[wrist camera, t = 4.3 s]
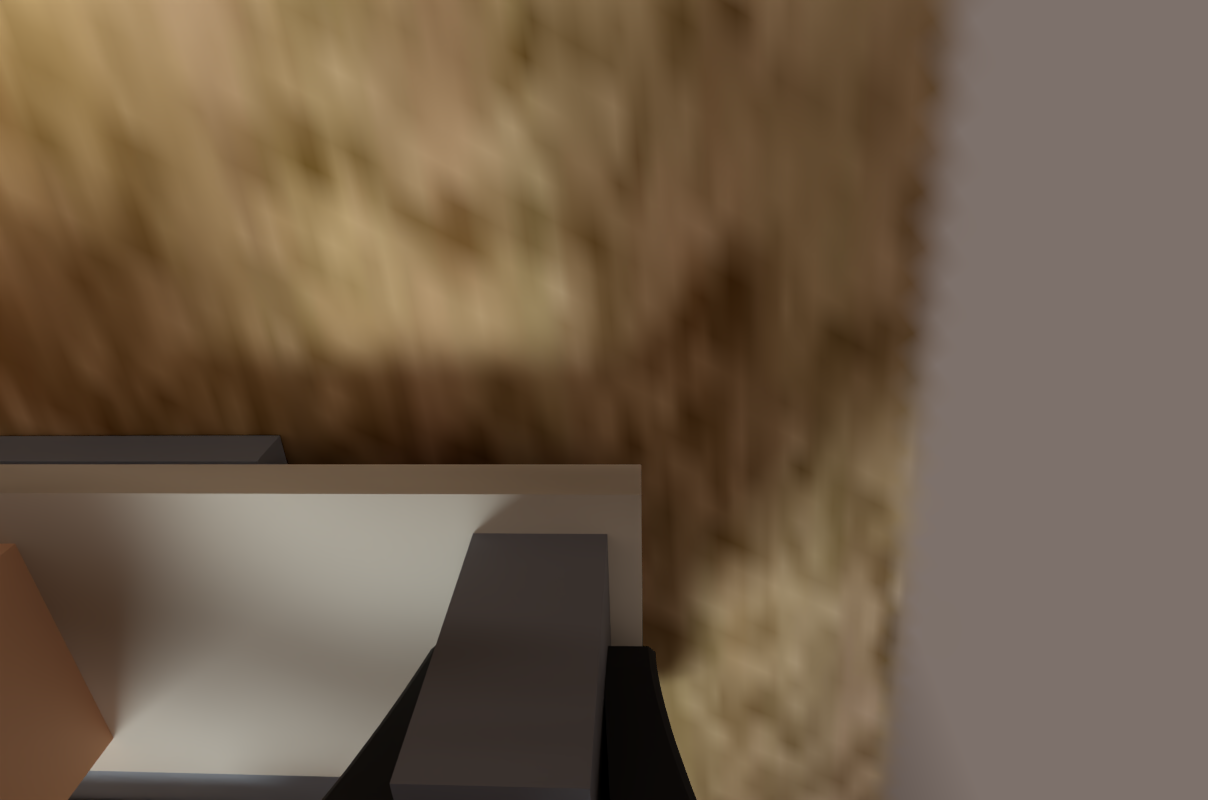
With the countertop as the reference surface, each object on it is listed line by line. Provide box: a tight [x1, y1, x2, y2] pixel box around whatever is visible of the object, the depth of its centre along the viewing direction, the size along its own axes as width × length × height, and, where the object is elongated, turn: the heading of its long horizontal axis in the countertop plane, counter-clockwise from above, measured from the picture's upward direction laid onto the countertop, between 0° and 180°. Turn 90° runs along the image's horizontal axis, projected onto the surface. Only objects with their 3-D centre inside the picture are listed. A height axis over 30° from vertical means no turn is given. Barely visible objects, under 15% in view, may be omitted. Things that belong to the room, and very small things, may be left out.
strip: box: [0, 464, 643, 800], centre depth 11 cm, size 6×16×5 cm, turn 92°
